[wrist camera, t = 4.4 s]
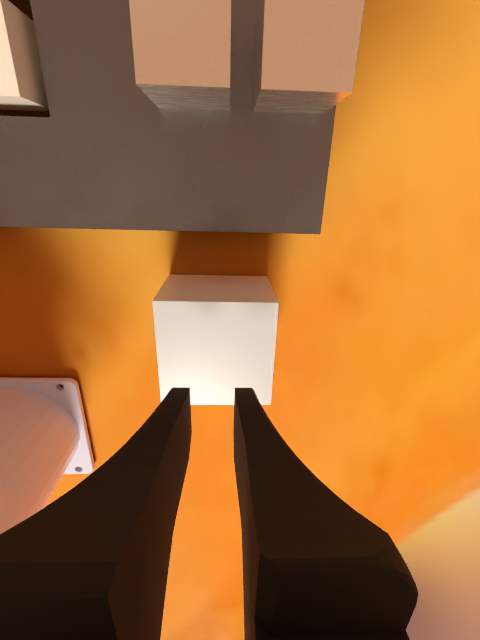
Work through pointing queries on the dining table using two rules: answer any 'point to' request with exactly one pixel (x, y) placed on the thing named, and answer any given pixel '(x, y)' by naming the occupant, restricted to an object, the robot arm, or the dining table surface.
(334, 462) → the dining table surface
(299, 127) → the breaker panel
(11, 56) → the button
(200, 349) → the cap
